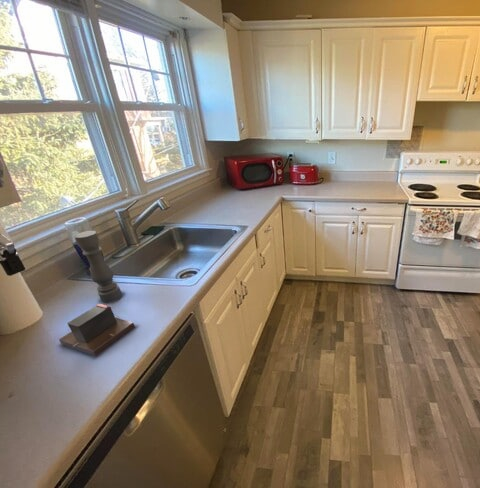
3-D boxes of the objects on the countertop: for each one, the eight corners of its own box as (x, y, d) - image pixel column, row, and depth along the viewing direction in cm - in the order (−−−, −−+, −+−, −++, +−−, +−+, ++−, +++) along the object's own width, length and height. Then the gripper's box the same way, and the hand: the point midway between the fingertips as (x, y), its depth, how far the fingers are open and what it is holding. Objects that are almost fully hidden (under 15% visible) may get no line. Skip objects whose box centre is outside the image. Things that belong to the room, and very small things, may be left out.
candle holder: (111, 291, 104) (85, 229, 93) (126, 293, 103) (101, 230, 92) (96, 302, 98) (67, 237, 87) (112, 303, 98) (85, 238, 87)
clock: (86, 343, 78) (77, 325, 75) (75, 339, 80) (66, 322, 77) (117, 322, 86) (110, 305, 83) (106, 319, 87) (99, 302, 84)
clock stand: (59, 346, 80) (55, 340, 79) (104, 316, 91) (102, 311, 90) (93, 358, 76) (90, 352, 75) (136, 326, 87) (134, 320, 86)
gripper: (-84, 202, 60) (-39, 271, 67) (-38, 210, 55) (6, 284, 62) (-34, 193, 66) (2, 257, 73) (11, 200, 61) (45, 267, 68)
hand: (4, 269), depth 68 cm, fingers open, 9 cm apart
